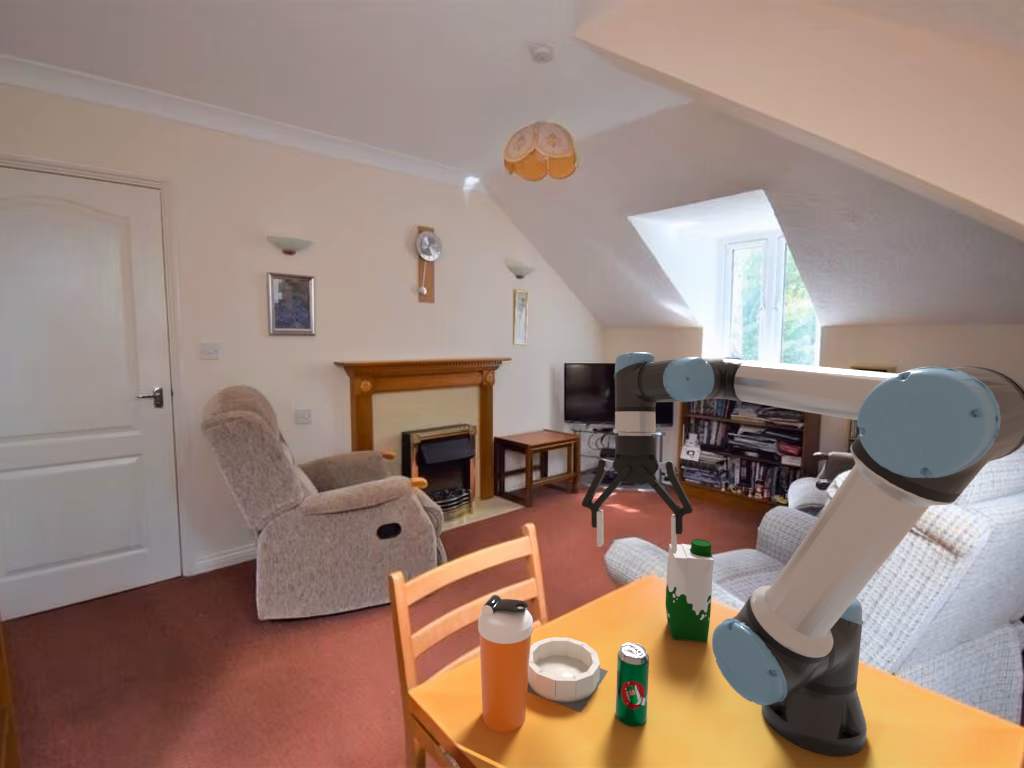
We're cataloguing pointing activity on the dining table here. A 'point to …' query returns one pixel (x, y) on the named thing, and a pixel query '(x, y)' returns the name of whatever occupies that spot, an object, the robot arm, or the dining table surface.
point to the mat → (577, 704)
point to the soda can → (632, 684)
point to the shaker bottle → (504, 662)
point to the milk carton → (689, 590)
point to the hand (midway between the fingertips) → (636, 548)
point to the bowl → (563, 669)
